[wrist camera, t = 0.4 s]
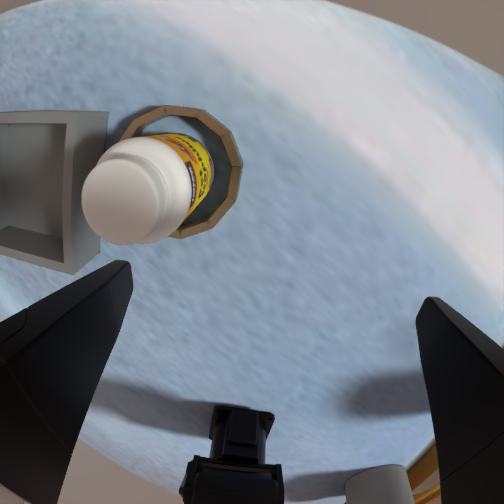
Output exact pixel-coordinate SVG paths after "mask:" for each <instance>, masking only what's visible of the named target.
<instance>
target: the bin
mask: <svg viewBox="0 0 504 504" xmlns="http://www.w3.org/2000/svg"><path fill="white" fill-rule="evenodd" d="M108 115H109V112H101V111H60V110H53V111H14V112H0V254H2V255H5V256H8V257H12V258H15V259H18V260H22V261H25V262H28V263H32V264H35V265H38V266H42V267H45V268H49V269H52V270H56V271H60V272H63V273H67V274H70V275H74V274H76V273H77V272H78V271H79V270H80V269H81V268H82V267H83V266H84V265H86V264H87V263H88V262H89V261H90V260H91V259H92V258H94V257H95V256H96V255H97V254H98V253H99V252H100V236H98V235H97V234H96V233H95V232H94V231H93V230H92V228H91V227H90V225H89V224H88V222H87V220H86V218H85V215H84V213H83V208H82V189H83V185H84V182H85V180H86V178H87V176H88V175H89V173H90V172H91V171H92V170H93V169H94V168H95V167H96V165H97V163H98V161H99V159H100V158H101V156H102V155H103V154H104V148H105V139H106V130H107V122H108Z"/></svg>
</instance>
